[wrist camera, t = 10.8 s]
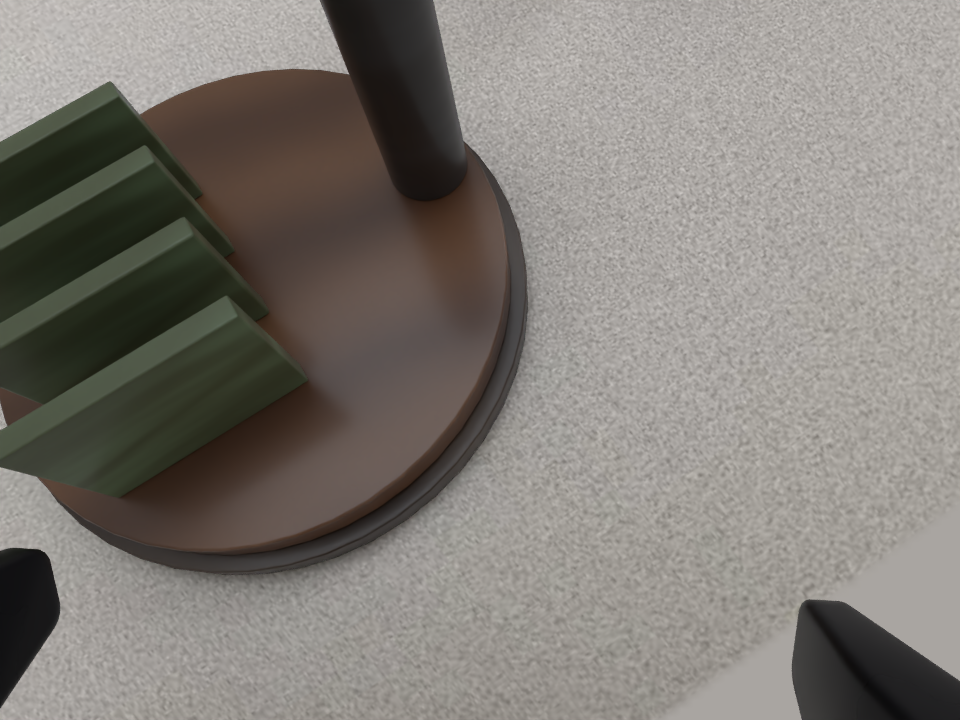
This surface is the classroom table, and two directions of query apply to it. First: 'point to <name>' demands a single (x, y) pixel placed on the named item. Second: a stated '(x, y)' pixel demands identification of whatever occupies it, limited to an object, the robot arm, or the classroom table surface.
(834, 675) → the robot arm
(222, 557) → the rack stand
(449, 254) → the plate holder
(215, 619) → the classroom table surface
